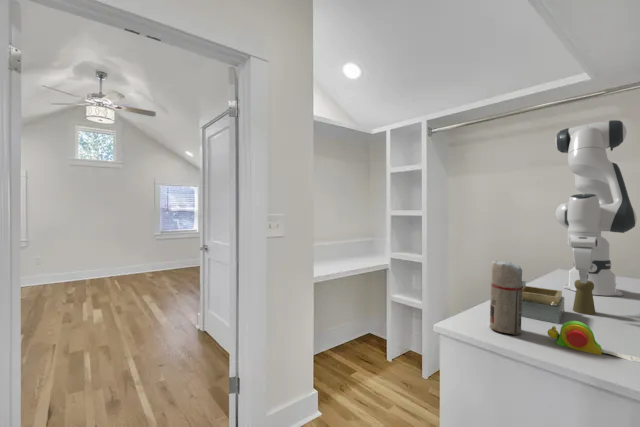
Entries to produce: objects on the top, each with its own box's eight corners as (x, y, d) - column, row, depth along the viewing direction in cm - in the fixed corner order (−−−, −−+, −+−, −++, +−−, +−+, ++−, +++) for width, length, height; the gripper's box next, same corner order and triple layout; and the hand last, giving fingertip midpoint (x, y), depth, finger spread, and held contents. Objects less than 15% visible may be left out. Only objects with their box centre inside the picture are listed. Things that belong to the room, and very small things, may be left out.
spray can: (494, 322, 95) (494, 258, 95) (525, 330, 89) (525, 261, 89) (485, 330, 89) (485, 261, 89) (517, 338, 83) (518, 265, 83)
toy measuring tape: (547, 337, 84) (548, 313, 84) (650, 359, 72) (650, 331, 72) (546, 345, 79) (546, 320, 79) (656, 370, 67) (657, 340, 67)
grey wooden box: (523, 304, 114) (523, 280, 114) (564, 311, 106) (564, 285, 106) (513, 314, 102) (514, 288, 102) (559, 323, 94) (559, 294, 94)
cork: (600, 315, 102) (600, 282, 101) (579, 314, 103) (579, 281, 103) (588, 309, 108) (588, 278, 107) (568, 308, 109) (568, 277, 109)
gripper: (574, 238, 115) (574, 275, 114) (569, 241, 100) (569, 283, 99) (596, 239, 110) (597, 278, 110) (595, 242, 95) (595, 286, 95)
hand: (584, 280), depth 105 cm, fingers open, 8 cm apart
